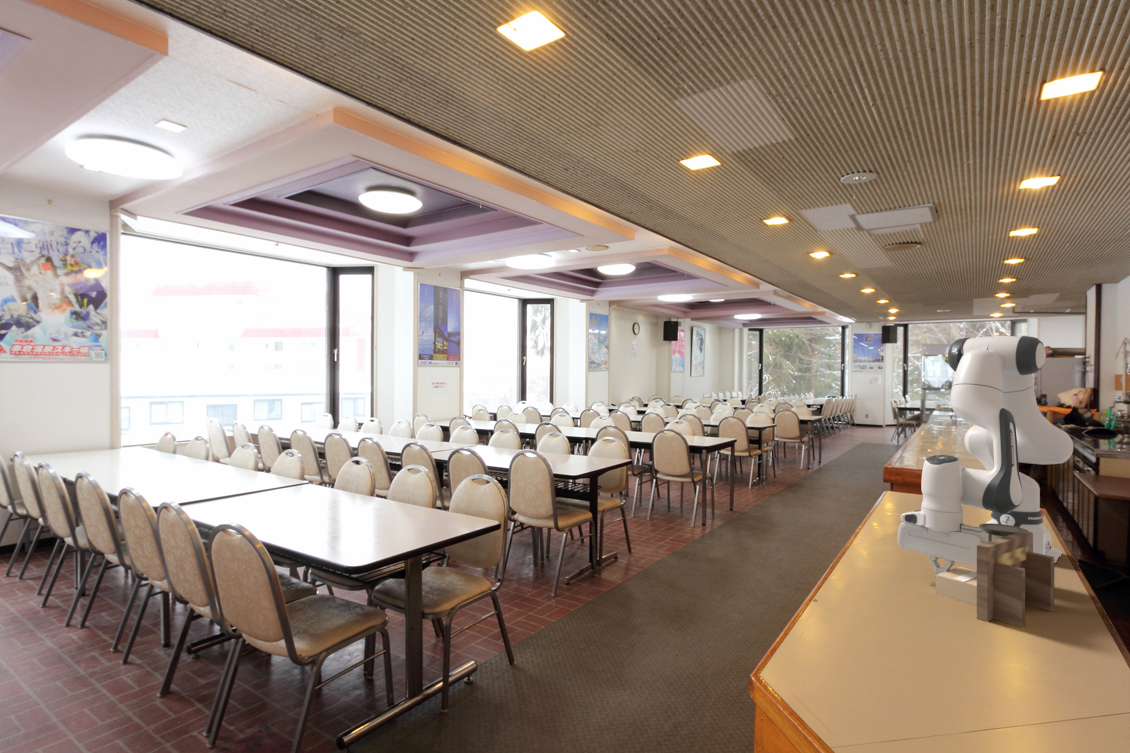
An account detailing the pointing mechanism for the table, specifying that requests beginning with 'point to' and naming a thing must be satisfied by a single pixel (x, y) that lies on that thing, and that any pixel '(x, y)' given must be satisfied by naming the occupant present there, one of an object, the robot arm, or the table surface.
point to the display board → (1013, 579)
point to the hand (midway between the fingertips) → (941, 574)
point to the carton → (958, 585)
